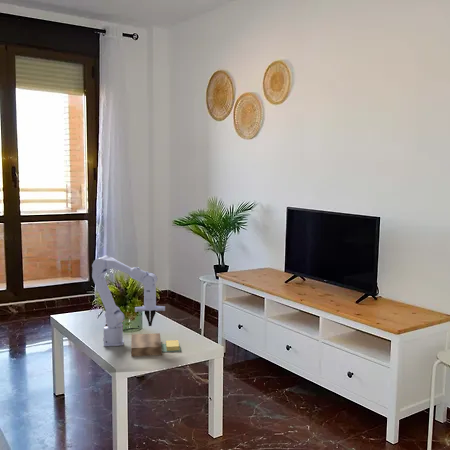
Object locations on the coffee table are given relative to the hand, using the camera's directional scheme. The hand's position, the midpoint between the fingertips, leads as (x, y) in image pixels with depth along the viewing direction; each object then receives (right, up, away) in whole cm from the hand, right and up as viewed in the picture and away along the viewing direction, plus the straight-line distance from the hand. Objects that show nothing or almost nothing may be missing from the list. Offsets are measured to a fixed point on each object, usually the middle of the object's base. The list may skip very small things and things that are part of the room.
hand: (150, 325), depth 250 cm
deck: (-2, -11, -2) cm, 11 cm away
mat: (+10, -11, -1) cm, 15 cm away
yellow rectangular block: (+11, -8, -1) cm, 14 cm away
